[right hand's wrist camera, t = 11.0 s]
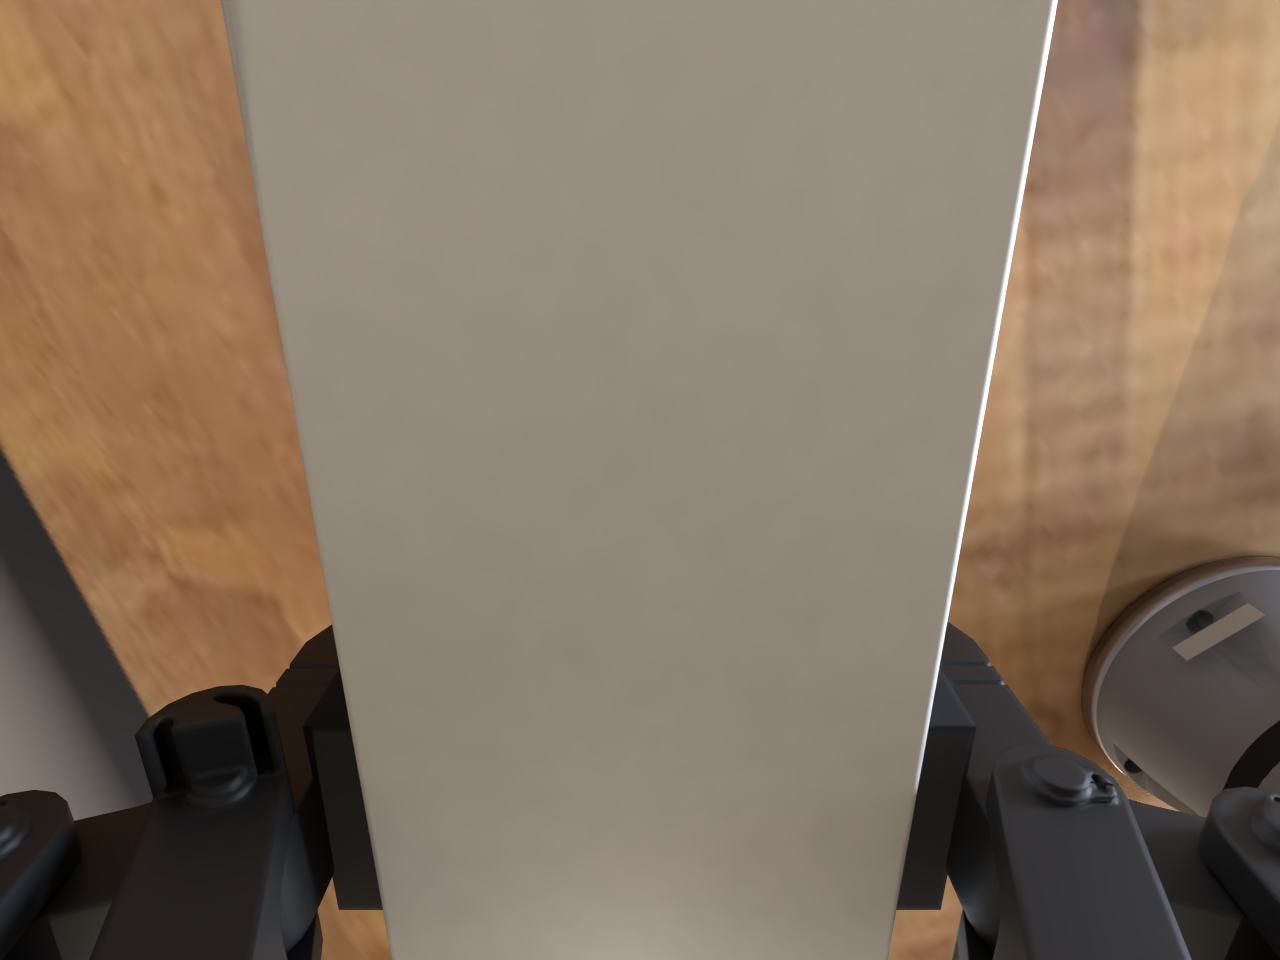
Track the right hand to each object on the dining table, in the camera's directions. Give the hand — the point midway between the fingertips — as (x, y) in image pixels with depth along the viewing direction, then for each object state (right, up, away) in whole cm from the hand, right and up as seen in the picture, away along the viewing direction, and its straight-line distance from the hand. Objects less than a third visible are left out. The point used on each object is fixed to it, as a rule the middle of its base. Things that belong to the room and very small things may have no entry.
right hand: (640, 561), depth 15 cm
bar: (0, +34, -13) cm, 36 cm away
